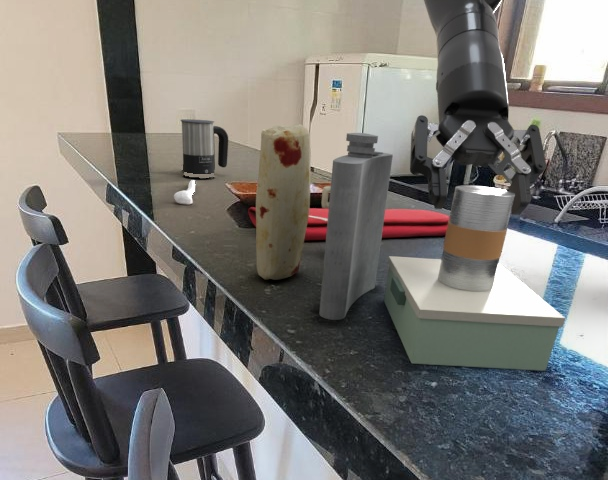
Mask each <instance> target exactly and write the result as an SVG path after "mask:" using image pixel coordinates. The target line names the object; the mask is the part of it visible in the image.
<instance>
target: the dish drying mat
mask: <svg viewBox="0 0 608 480" xmlns="http://www.w3.org/2000/svg"><path fill="white" fill-rule="evenodd" d="M328 211H329V208H316V207H315V208H314V207H313V208H311V207H309V217H308V222H307V228H306V233H305V238H304V242H305V241H308V242H309V241H326V234H327V223H328ZM247 213H248V216H249V218H250V219H249V220H250V221H251V223H252V224H253V225H254V227H255V228H256V206H255V207H254V206H251V207H249V208H248V212H247ZM449 218H450V215H448V214H444V213H441V212H438V211H433V210H428V209H427V210H425V209H408V208H390V209H388V208H386V209H385V216H384V223H383V231H382V238H381V239H390V238H391V239H392V238H394V239H395V238H409V237H410V238H411V237H436V236H437V237H439V236H440V237H441V236H444V237H445V236H446V231H447V226H448V221H449Z"/></svg>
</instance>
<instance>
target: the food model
mask: <svg viewBox="0 0 608 480" xmlns="http://www.w3.org/2000/svg"><path fill="white" fill-rule="evenodd" d="M260 134H261V136H260V148H259V149H260V150H259V159H258V160H259V161H258V173H257V174H258V175H257V184H256V191H255V207H256V227H255V228H256V229H255V231H256V232H255V233H256V234H255V235H256V237H255V238H256V239H255V240H256V241H255V243H256V244H255V245H256V247H255V249H256V252H255V253H256V270H257V275H258V276H259V277H261V278H262V279H264V280H265V281H266V280H267V281H268V280H273V281H279V280H282V279H286V278H287V279H288V278H289V277H292V276H294V275H295V274H296V273H297V272H299V269H300V265H301V258H302V252H303V248H304V242H305V241H304V238H305V233H306V228H307V222H308V217H309V208H311V207H310V206H311V176H312V175H311V156H312V155H311V152H312V151H311V132H310V131H309V129H308V128H307V127H305V126H304V125H303V124H301V123H298V124H294V125H291V126H281V125H274V126H272V127H269V128H267V129H265V128H263V129H262V131H261V133H260Z"/></svg>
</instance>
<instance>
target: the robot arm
mask: <svg viewBox="0 0 608 480" xmlns="http://www.w3.org/2000/svg"><path fill="white" fill-rule="evenodd" d="M502 1H503V0H423V2H424V3H423V4H424V7H425V9H426V12H427V15H428V19H429V21H430V24H431V26H432V29H433V32H434V34H435V37H436V56H437V67H436V83H435V91H436V95H437V114H438V123H434V122H429V119H428V117H427V115H422V114H421V115H418V116H417V118H416V120H415V122H414V126H413V128H412V131H411V133H410V134H411V135H410V157H409V161H410V162H409V172H410V173H411V174H412V175H413V176H418V175H423V176H424V177H426V179H427V187H428V189H427V191H428V192H427V193H428V201H429V203H430V204H433V207H434V210H443V208H444V206H445V204H446V203H447V199H448V186H447V170H448V168H449V167H450V166H451V165H452V164H453V163H454V162H456V163H457V162H458V163H459V165H460V166H471V165H474V166H478V167H486V168H487V167H488V166H489V168H490V169H491V170H492V171H493V172H494V174H496V175H497V176H502V177H503V178H504V179H505V180H506V181H507V183H509V186H508V191H510V192H513V193H514V194H515V197H514V202H513V206H512V210H511V215H514V216H515V215H516V216H520V215H521V214H522V212H523V211H525V209H526V208H527V207H528V206H529V205H530V204H531V200H532V192H531V185H533V184H535V183H536V182H537V180H538V179H539V178H540V176H541V175H542V174H543V172H545V170H546V168H547V161H546V156H545V155H546V154H545V151H544V145H543V140H542V135H541V132H540V131H541V130H540V128H539V126H538V125H537V124H530V125H529V126H528V127H527V129H514V128H513V126H512V125H511V123H510V120H509V111H510V109H509V99H508V98H509V97H508V89H507V81H506V70H505V63H504V58H503V54H502V50H501V46H500V38H499V28H498V21H497V18H496V15H495V11H496V10H497V9H498V8H499V6H500V4H501V2H502ZM434 137H435V138H436V140H437V142H438V143H439V144H440V145H441V147H442V149H441V150H440V151H439V152H438V154H437V155H436V156H435V157H434V158H432V157H429V156H428V144H429V143H430V142H431V140H432V139H433V138H434ZM502 154H503V155H504V156H503V158H502V160H501V159H500V158H499V157H500V156H501V155H502Z"/></svg>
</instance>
